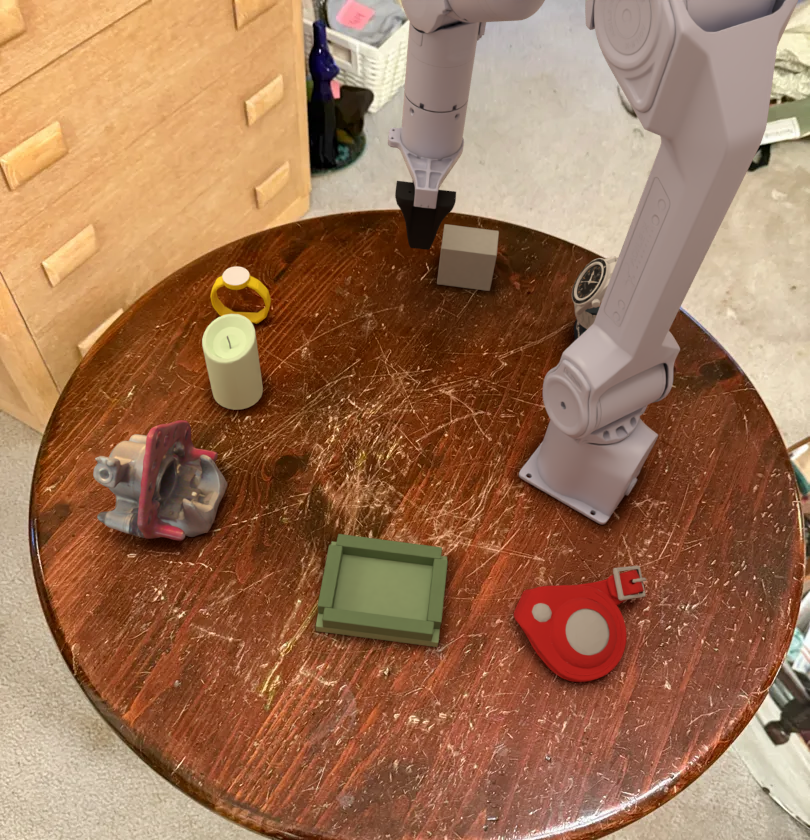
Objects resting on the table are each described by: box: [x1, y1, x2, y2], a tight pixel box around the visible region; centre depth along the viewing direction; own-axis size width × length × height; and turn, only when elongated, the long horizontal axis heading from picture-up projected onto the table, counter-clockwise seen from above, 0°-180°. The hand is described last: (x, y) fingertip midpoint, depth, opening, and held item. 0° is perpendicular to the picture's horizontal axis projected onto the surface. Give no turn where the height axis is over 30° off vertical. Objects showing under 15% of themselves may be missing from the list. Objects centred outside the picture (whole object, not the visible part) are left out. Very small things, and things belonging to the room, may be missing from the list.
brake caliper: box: [92, 419, 228, 542], centre depth 71 cm, size 11×11×12 cm
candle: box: [201, 314, 264, 411], centre depth 78 cm, size 5×5×8 cm
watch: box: [571, 256, 618, 341], centre depth 83 cm, size 6×8×11 cm
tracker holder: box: [513, 565, 647, 683], centre depth 70 cm, size 12×4×10 cm
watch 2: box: [209, 266, 272, 325], centre depth 84 cm, size 6×3×6 cm, turn 86°
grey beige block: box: [436, 223, 500, 292], centre depth 90 cm, size 6×4×5 cm, turn 83°
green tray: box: [315, 533, 449, 648], centre depth 70 cm, size 10×8×2 cm
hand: (422, 220), depth 84 cm, fingers open, 7 cm apart
